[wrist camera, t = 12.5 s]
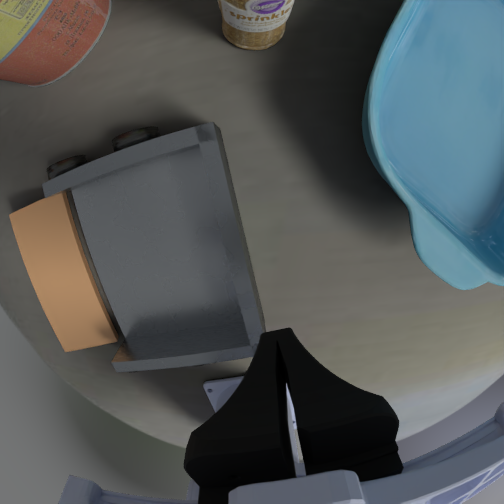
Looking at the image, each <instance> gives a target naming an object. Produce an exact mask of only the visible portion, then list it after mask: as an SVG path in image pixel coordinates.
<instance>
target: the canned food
mask: <svg viewBox="0 0 504 504" xmlns="http://www.w3.org/2000/svg"><path fill="white" fill-rule="evenodd" d="M111 5H112V3H111V0H0V79H1V80H6V81H12V82H17V83H22V84H24V85H27V86H31V87H41V86H46V85H49V84H51V83H53V82H55V81H57V80H59V79H61V78H62V77H64V76H65V75H67V74H68V73H69V72H71V71H72V70H73V69H74V68H75V67H76V66H78V65H79V64H80V63H81V62H82V61H83V60H84V58H85V57H86V56H87V55H88V54H89V53H90V51H91V50H92V49H93V47H94V46H95V45H96V43H97V42H98V40H99V39H100V37H101V35H102V33H103V31H104V29H105V27H106V25H107V22H108V20H109V16H110V12H111Z"/></svg>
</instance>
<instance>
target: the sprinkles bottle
mask: <svg viewBox="0 0 504 504" xmlns="http://www.w3.org/2000/svg"><path fill="white" fill-rule="evenodd" d="M293 3H294V0H218V4H219V9H220V11H221V14H222V20H223V22H222V30H223V33H224V36H225V37H226V38H227V39H228V41H230V42H231V43H232V44H234V45H235V46H237V47H240V48H242V49H246V50H262V49H267V48H269V47H271V46H273V45H275V44H276V43H277V42H278V41H279V40H280V39H281V38H282V37H283V35H284V32H285V23H286V20H287V19H288V17H289V15H290V12H291V9H292V6H293Z"/></svg>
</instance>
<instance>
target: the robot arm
mask: <svg viewBox="0 0 504 504" xmlns="http://www.w3.org/2000/svg"><path fill="white" fill-rule="evenodd" d="M203 387H204V390H205V392H206V394H207V396H208V398H209V400H210V402H211V404H212V407H213V409H214V411H215V414H214V415H213V416H212V417H211V418H210V419H209V420H207V421H206V422H205V423H204V424H202V425H201V426H200V427H198V428H197V429H196V430H194V431H193V432H192V433H191V435H190V438H189V441H188V444H187V448H186V453H185V459H184V469H185V471H186V472H187V473H188V474H189V476H190V477H191V478H192V479H191V480H190V483H189V486H188V492H187V498H186V500H177V499H164V498H153V497H145V496H137V495H130V494H124V493H118V492H113V491H107V490H103V489H101V487H99V486H98V485H97V484H96V483H94V482H93V481H91V480H88V479H85V478H81V477H77V476H73V475H70V476H69V477H68V480H67V483H66V485H65V488H64V490H63V493H62V495H61V498H60V500H59V503H58V504H462V503H463V502H465V501H467V500H468V499H470V498H471V497H473V496H474V495H476V494H477V493H479V492H480V491H482V490H483V489H484V488H486V487H487V486H489V485H490V484H491V483H493V482H494V481H496V480H497V479H498V478H500V477H501V476H502V475H504V402H503V403H502V404H501V405H500V406H499V407H498V409H497V411H496V413H495V416H494V417H493V418H491V419H489V420H488V421H486V422H485V423H483V424H482V425H480V426H478V427H476V428H475V429H473V430H472V431H470V432H468V433H466V434H464V435H463V436H461V437H459V438H457V439H455V440H453V441H451V442H450V443H447V444H445V445H443V446H441V447H439V448H437V449H435V450H433V451H431V452H429V453H427V454H425V455H422V456H420V457H418V458H415V459H413V460H410V461H408V462H405V463H403V464H402V462H401V460H400V457H399V455H398V452H397V451H398V446H397V444H396V441H395V439H396V435H397V432H398V428H399V420H398V417H397V415H396V413H395V412H394V410H393V409H392V407H391V406H390V405H389V403H388V402H387V401H386V400H385V399H384V397H382V396H379V395H376V394H373V393H370V392H367V391H364V390H362V389H360V388H357V387H355V386H353V385H352V384H350V383H348V382H346V381H344V380H343V379H341V378H339V377H338V376H336V375H335V374H333V373H332V372H330V371H329V370H328V369H326V368H325V367H324V366H323V365H322V364H320V363H319V362H318V361H317V360H316V359H315V358H314V357H313V356H312V355H311V354H310V353H309V352H308V351H307V350H306V349H305V347H304V346H303V345H302V344H301V343H300V341H299V340H298V339H297V337H296V336H295V334H294V332H293V330H292V329H291V328H285V329H280V330H275V331H270V332H265V333H262V334H261V335H260V339H259V343H258V346H257V349H256V352H255V354H254V357H253V359H252V362H251V364H250V366H249V368H248V370H247V372H246V374H245V376H241V377H234V378H227V379H220V380H212V381H206V382H204V385H203ZM209 389H212V390H209ZM294 429H297V431H298V436H299V441H300V445H301V450H302V455H303V460H304V463H299V458H298V451H297V445H296V439H295V432H294Z"/></svg>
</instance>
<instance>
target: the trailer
mask: <svg viewBox="0 0 504 504" xmlns="http://www.w3.org/2000/svg"><path fill="white" fill-rule="evenodd" d="M112 143H113V148H114V153H112V154H109V155H107V156H104V157H101V158H99V159H96V160H94V161H92V162H89V163H87V162H86V157H85V155H79V156H74V157H71V158H67V159H65V160H62V161H59V162H57V163H55V164H53V165H51V166H49V167H48V168H47V173H48V177H49V181H47V182H45V183H43V184H42V187H43V191H44V195H45V198H48V197H51V196H54V195H58V194H61V193H65V192H68V191H72V195H73V198H74V202H75V206H76V209H77V213H78V216H79V220H80V223H81V226H82V230H83V233H84V236H85V239H86V242H87V245H88V248H89V251H90V254H91V257H92V260H93V262H94V265H95V268H96V270H97V273H98V276H99V278H100V281H101V284H102V286H103V289H104V291H105V293H106V296H107V298H108V301H109V303H110V305H111V308H112V310H113V312H114V315H115V317H116V319H117V321H118V324H119V326H120V328H121V330H122V332H123V334H124V336H125V339H124V341H123V343H122V344H121V346H120V348H119V349H118V351H117V353H116V355H115V356H114V358H113V360H112V362H111V363H112V365H113V367H114V369H115V370H116V372H137V371H143V370H155V369H166V368H176V367H185V366H202V365H205V364H209V363H216V362H223V361H229V360H236V359H242V358H248V357H254V354H255V352H256V349H257V346H258V343H259V339H260V335H261V334H262V333H265V332H266V329H265V320H264V316H263V311H262V307H261V303H260V299H259V294H258V290H257V286H256V282H255V277H254V273H253V269H252V265H251V260H250V256H249V252H248V247H247V243H246V239H245V235H244V230H243V226H242V222H241V217H240V213H239V209H238V204H237V200H236V196H235V191H234V187H233V183H232V178H231V174H230V170H229V165H228V161H227V157H226V152H225V148H224V144H223V139H222V135H221V131H220V129H219V128H218V127H217V125H216V124H215V123H214V122H210V123H206V124H203V125H199V126H195V127H191V128H188V129H184V130H181V131H177V132H174V133H170V134H167V135H164V136H161V137H160V136H159V132H158V127H145V128H140V129H136V130H133V131H129V132H127V133H124V134H122V135H119V136H117V137H115V138H114V139H113V140H112Z"/></svg>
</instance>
